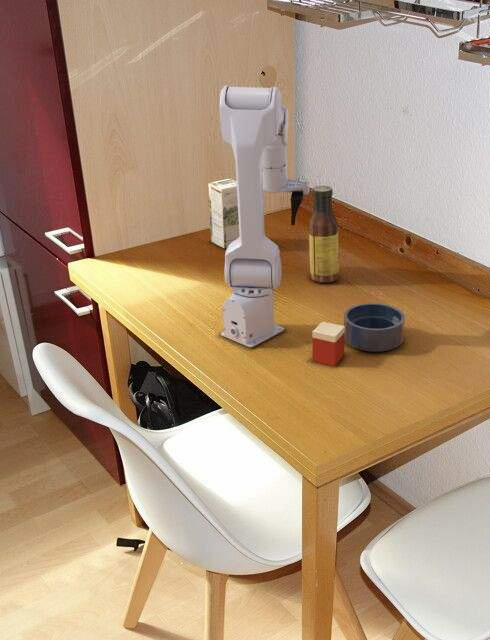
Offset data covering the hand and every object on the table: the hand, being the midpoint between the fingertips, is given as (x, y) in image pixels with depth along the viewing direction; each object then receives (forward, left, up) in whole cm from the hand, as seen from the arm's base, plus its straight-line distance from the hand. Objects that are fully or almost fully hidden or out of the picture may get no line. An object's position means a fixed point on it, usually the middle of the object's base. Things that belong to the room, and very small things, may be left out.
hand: (275, 222), depth 178 cm
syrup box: (+3, +18, -11) cm, 22 cm away
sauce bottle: (+2, -12, -11) cm, 16 cm away
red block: (-25, -35, -11) cm, 44 cm away
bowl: (-14, -37, -11) cm, 40 cm away
